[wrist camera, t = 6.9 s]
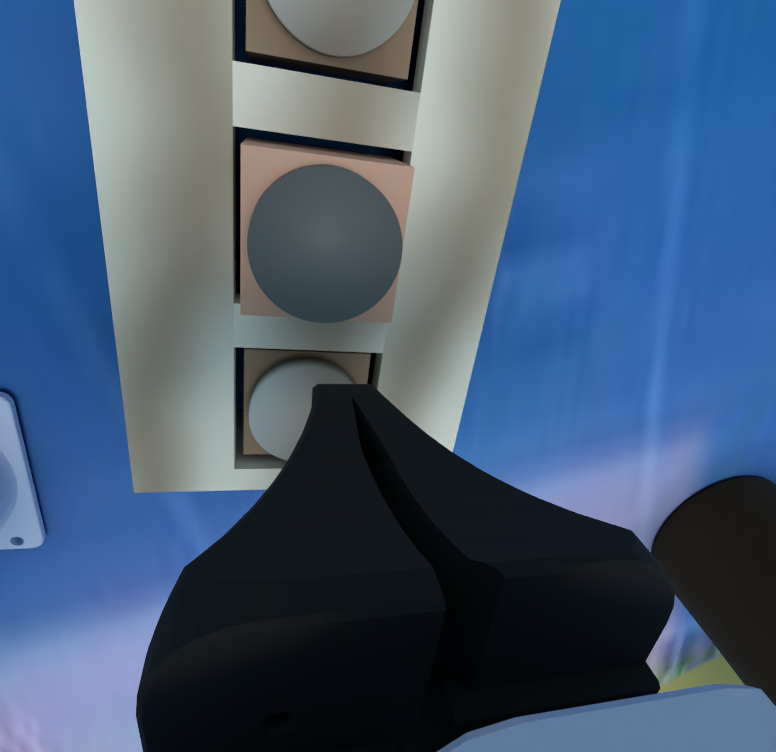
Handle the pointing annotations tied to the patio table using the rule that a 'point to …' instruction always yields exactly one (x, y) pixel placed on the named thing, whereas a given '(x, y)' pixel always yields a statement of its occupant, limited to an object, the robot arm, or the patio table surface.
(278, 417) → the box with round disc
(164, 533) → the patio table surface
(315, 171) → the beige grey-dot cube
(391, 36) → the cube with pale circle
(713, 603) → the olive oil
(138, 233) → the grey square block
